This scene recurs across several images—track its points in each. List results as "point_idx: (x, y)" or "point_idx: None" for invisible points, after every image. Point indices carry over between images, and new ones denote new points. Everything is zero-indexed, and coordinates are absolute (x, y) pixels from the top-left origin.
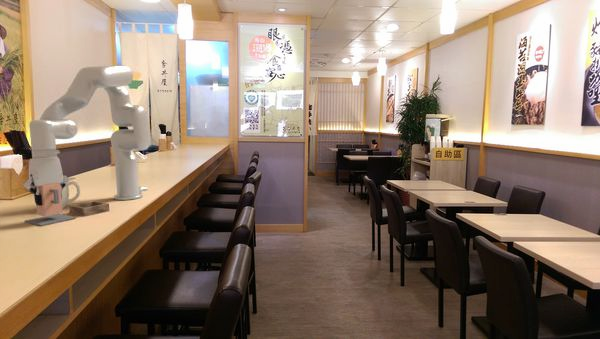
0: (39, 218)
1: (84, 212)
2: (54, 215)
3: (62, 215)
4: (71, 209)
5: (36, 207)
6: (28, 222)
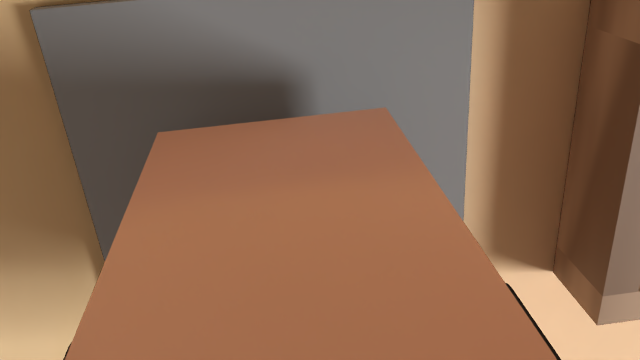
0: (204, 56)
1: (576, 297)
2: (391, 41)
3: (442, 122)
4: (616, 55)
5: (140, 175)
6: (63, 105)
